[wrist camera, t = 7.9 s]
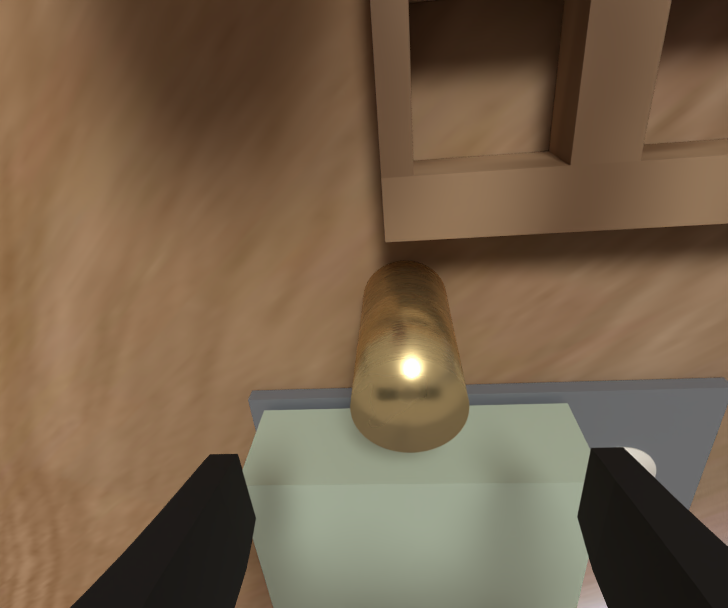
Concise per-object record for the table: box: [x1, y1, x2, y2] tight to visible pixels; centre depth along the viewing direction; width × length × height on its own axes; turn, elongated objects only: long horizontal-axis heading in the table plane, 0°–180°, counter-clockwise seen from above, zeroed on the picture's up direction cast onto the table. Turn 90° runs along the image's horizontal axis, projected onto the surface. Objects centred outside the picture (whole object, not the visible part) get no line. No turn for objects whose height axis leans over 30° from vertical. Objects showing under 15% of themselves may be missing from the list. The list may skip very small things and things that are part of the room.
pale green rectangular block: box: [242, 403, 590, 608], centre depth 19 cm, size 12×8×4 cm
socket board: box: [370, 0, 728, 242], centre depth 12 cm, size 12×8×2 cm, turn 95°
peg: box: [350, 261, 469, 453], centre depth 15 cm, size 3×3×6 cm
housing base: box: [248, 378, 728, 510], centre depth 19 cm, size 18×9×3 cm, turn 95°
